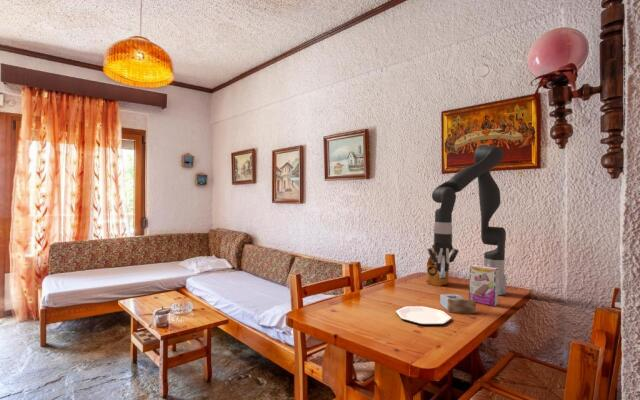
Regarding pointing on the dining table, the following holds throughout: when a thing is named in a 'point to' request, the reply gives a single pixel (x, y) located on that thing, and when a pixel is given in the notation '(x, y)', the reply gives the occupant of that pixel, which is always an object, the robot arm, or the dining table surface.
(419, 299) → the dining table surface
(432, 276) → the coffee package
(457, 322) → the dining table surface
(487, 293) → the candy bar box
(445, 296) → the block
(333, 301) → the dining table surface
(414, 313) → the plate
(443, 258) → the dowel
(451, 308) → the wall
